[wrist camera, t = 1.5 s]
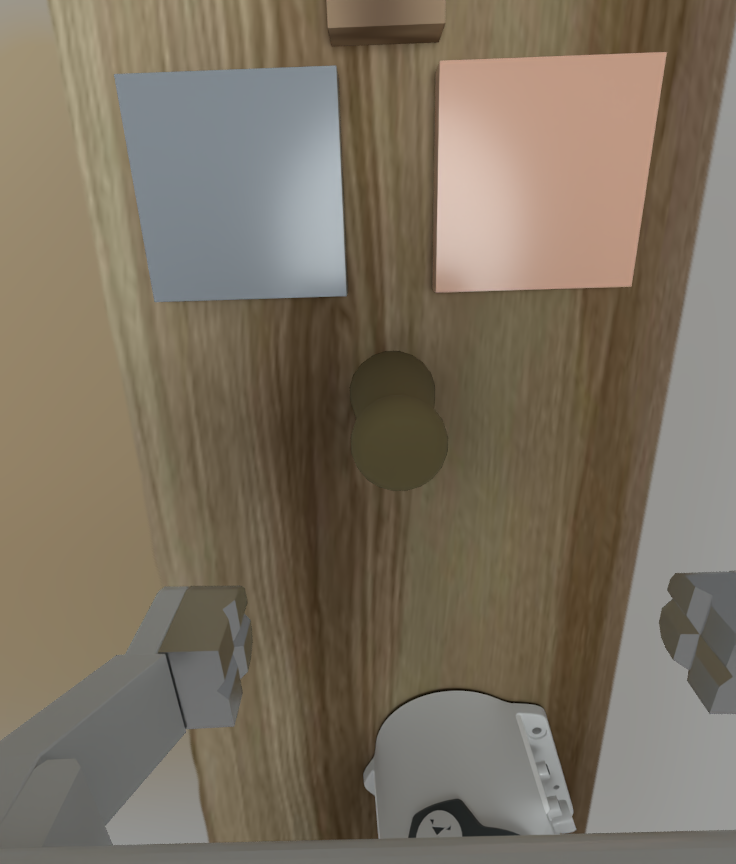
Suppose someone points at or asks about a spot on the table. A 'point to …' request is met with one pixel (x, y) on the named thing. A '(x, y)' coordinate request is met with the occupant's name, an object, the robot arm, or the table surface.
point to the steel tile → (238, 181)
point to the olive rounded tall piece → (396, 422)
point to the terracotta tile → (541, 170)
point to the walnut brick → (385, 21)
